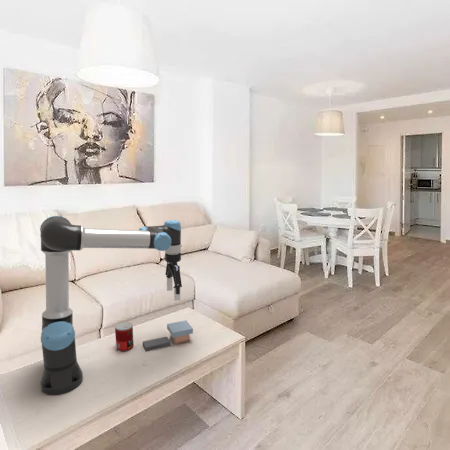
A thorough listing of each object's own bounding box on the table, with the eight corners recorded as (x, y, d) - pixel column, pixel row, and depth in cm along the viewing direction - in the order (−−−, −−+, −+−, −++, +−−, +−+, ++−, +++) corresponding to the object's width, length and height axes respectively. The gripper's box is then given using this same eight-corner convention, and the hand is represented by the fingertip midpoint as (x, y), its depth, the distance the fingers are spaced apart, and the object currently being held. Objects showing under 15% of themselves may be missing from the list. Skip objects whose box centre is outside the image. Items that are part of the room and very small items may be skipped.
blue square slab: (172, 337, 164) (172, 332, 164) (167, 328, 173) (167, 323, 173) (192, 333, 169) (192, 328, 168) (186, 324, 178) (186, 320, 177)
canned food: (131, 351, 161) (129, 329, 159) (113, 351, 161) (112, 329, 159) (135, 343, 168) (134, 322, 166) (119, 342, 168) (117, 321, 166)
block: (145, 351, 161) (145, 347, 160) (142, 345, 166) (142, 341, 166) (170, 345, 166) (170, 342, 165) (167, 340, 171) (167, 336, 171)
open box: (175, 344, 167) (175, 335, 166) (171, 337, 173) (171, 329, 173) (189, 341, 170) (189, 332, 169) (184, 334, 176) (184, 326, 176)
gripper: (188, 258, 155) (188, 303, 159) (173, 246, 178) (173, 285, 181) (172, 260, 152) (172, 305, 156) (159, 247, 175) (159, 287, 178)
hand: (173, 295), depth 169 cm, fingers open, 13 cm apart
